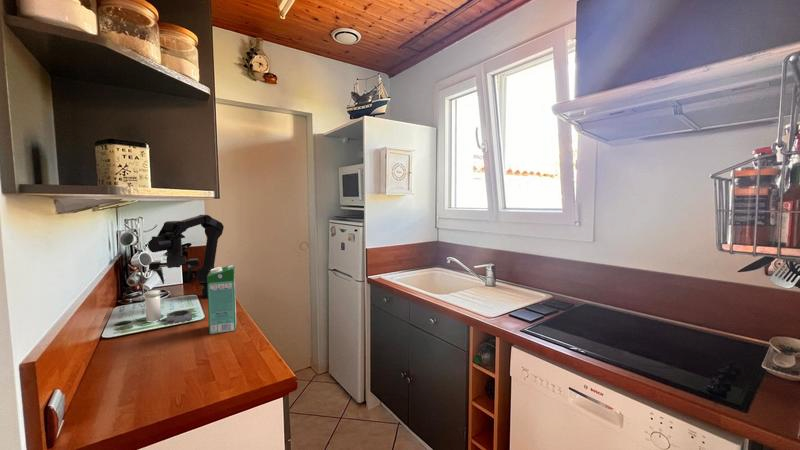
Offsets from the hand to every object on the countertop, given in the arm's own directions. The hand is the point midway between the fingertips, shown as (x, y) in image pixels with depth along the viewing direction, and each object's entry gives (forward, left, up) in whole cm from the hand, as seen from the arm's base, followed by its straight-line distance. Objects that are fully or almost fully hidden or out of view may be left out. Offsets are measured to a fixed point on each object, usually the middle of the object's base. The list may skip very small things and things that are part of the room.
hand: (175, 282), depth 150 cm
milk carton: (-16, +35, -13) cm, 41 cm away
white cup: (+8, +11, -13) cm, 19 cm away
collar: (-1, +15, -13) cm, 20 cm away
